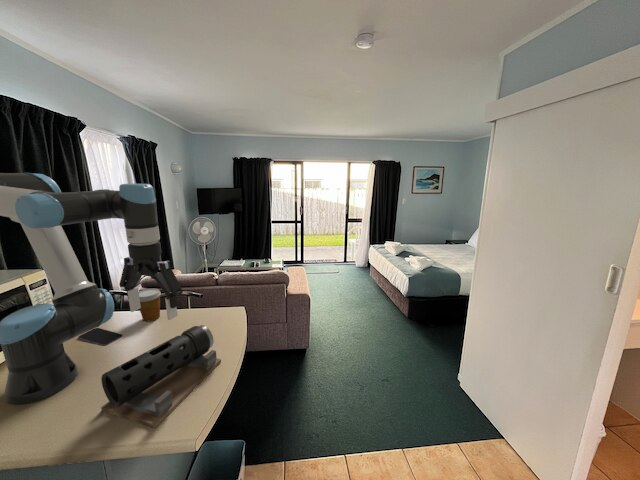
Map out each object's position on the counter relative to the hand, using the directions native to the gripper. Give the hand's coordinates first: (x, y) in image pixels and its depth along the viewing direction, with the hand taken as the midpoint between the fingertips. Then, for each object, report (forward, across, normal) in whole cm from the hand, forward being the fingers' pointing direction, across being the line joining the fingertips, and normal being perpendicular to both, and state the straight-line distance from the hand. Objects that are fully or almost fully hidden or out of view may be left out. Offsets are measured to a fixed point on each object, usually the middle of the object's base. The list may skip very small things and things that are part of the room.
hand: (153, 313), depth 80 cm
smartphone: (+23, -41, +10) cm, 48 cm away
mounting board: (+22, +3, -1) cm, 22 cm away
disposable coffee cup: (+23, -35, +28) cm, 50 cm away
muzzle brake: (+20, +3, -1) cm, 20 cm away
